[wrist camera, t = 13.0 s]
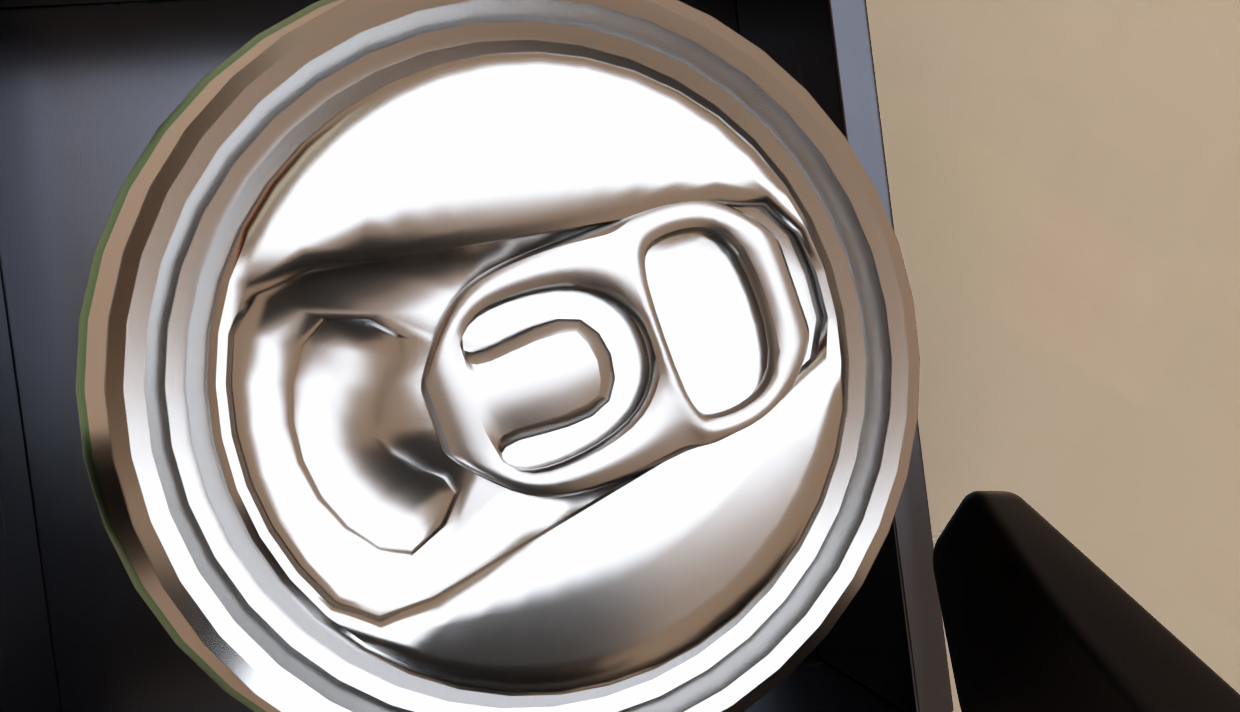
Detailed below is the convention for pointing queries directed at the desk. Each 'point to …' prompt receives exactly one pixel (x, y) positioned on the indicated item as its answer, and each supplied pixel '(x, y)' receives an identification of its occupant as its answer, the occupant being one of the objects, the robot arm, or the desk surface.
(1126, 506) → the desk surface
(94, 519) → the black tray
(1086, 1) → the desk surface
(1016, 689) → the robot arm
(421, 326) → the soda can
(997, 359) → the desk surface
